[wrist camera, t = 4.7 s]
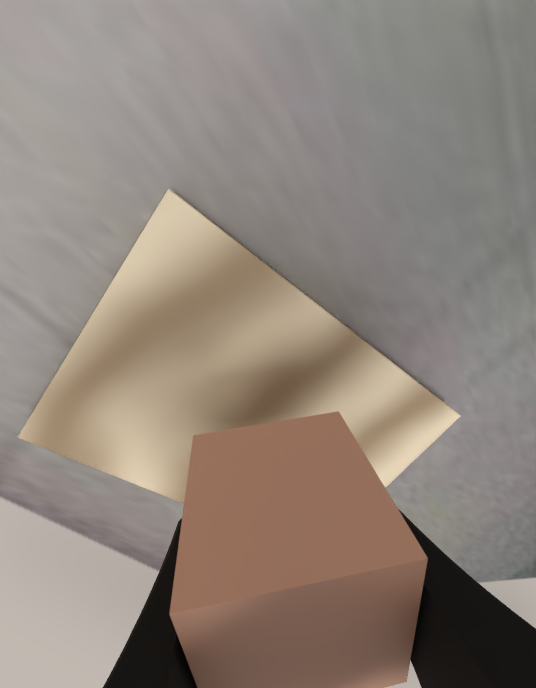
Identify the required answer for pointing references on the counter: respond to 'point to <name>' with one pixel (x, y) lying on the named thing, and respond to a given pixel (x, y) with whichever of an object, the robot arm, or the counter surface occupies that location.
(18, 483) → the counter surface
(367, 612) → the terracotta cube
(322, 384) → the birch board
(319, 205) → the counter surface
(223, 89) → the counter surface
